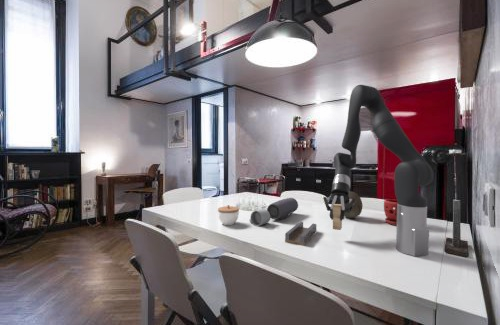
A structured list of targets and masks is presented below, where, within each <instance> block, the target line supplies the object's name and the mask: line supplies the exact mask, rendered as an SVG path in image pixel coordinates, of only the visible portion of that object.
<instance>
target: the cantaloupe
mask: <svg viewBox="0 0 500 325" xmlns="http://www.w3.org/2000/svg"><path fill="white" fill-rule="evenodd" d="M349 197H350V199H355V202H356V204H355V205H354V207H353V208H352V210H351V211H350V212H349V213H347V212H346V213H345V216H344V218H345V217H346V218H348V219H353V218H357V217H359V216H360V215H361V214H362V210H363V201H362V198H361V197H360V196H359V195H358V194H357V193H356V192H354V191H351V190H350V192H349ZM348 205H349V202H348V203H347V204H345V208H347V206H348Z"/></svg>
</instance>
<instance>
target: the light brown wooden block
mask: <svg viewBox="0 0 500 325" xmlns="http://www.w3.org/2000/svg"><path fill="white" fill-rule="evenodd" d="M341 206H342V205H341V204H334V205H333V220H332V230H337V231H341V230H342V228H343V226H342V225H343V224H342V223H343V220H342V221H340V214H341V210H342V208H341Z"/></svg>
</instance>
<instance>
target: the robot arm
mask: <svg viewBox="0 0 500 325" xmlns="http://www.w3.org/2000/svg"><path fill="white" fill-rule="evenodd" d="M349 98H350V99H349V104H348V113H347V122H346V126H345V127H346V128H345V132H344V136H343V139H342V143H341V148H343V149H345V150H347V151H348V152H350V154H348V153H345V152H344V153H343V152H337V153H335V155H334V156H333V165H334V169H335V170H334V171H335V172H334V178H333V181H332V186H331V193H330V195H329V196H328V197H327V196H324V197H323V202H324V204H325V208H326V210H327V211H329V217H330V219H331V220H332V221H333V205H334V204H341V205H342V206H341V208H342V210H341V214H340V221H342V222H343V220H344V219H345V213H346V212H347V213H349V212H350V211H351V210H352V208H353V207H354V205H355V204H356V202H355V199H350V197H349V192H350V191H351V176H352V172H351V170H353V169H354V168H355V167H356V165H357V149H358V144H359V142H360V138H361V132H362V129H361V122H360V112H361V108H362V107H364V108H366V109H367V110H368V111H369V113H370V114H371V116H372V130H373V133H374V134H375V137H376V138H377V139H378V141H379V143H380V144H381V145H382V146H384V148H386V149H387V150H388V151H390V152H391V153H392V154H394V155H395V156H396V157H397V158H399V160H400V161H401V162H400V163H398V165H397V166H396V167H395V169H394V195H395V197H396V200H397V226H396V230H395V231H396V234H395V236H396V237H395V238H396V240H395V241H396V242H395V250H397V252H400V253H403V254H405V255H410V256H412V257H422V256H429V251H430V250H429V248H430V247H429V245H430V244H429V243H430V242H429V240H430V228H428V227H427V226H428V225H427V222H428V221H427V220H428V199H427V198H426V197H424V196H422V195H421V194H420V190H419V187H425V186H428V185H429V184H431V183H432V182H433V180H434V177H435V176H434V171H433V168H432V166H431V165H430V164H429V163H428V162H427V160H426V159H425V158H424V157H423V156H422V155H421V154H420V152H419V151H418V150H417V149H416V147H415V146H414V145H413V143H412V142H411V140H410V139H409V137H408V136H407V134H406V133H405V132H404V130H403V129H402V127H401V125H400V124H399V123H398V121H397V119H396V118H395V117H394V116H393V114H392V112H391V111H390V110H389V108H388V107H387V105H386V103H385V101H384V99H383V97H382V95H381V93H380V92H379V90H378V89H377V88H376V87H373V86H370V85H367V84H366V85H365V84H358V85H355V87H354V88H353V89H352V91H351V94H350V97H349ZM329 202H331V206H330V204H329ZM348 202H349V205H348V206H347V208H345V204H347V203H348Z"/></svg>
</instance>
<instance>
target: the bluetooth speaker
mask: <svg viewBox="0 0 500 325" xmlns="http://www.w3.org/2000/svg"><path fill="white" fill-rule="evenodd" d="M298 208H299V202H298V201H297V200H296V198H293V197H287V198H283V199H279V200H277V201H274V202H271V203H270V204H269V205H268V206H267V208H266V210H267V211H268V212H269V213H270V216H271V218H270V220H271V219H272V220H283V219H286V218H288V217H289V216H290V215H291V214H292V213H294V212H296V210H298Z"/></svg>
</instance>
